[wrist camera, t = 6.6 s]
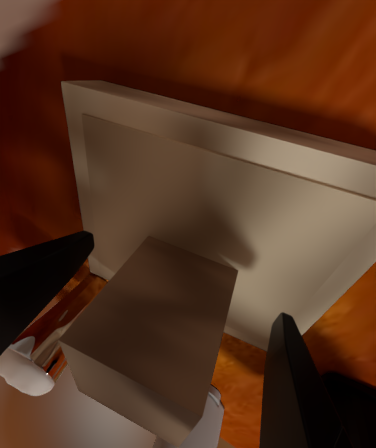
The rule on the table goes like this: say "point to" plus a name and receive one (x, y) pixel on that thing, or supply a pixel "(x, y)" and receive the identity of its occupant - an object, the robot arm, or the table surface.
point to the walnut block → (153, 338)
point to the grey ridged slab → (202, 426)
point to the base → (224, 199)
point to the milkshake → (46, 342)
